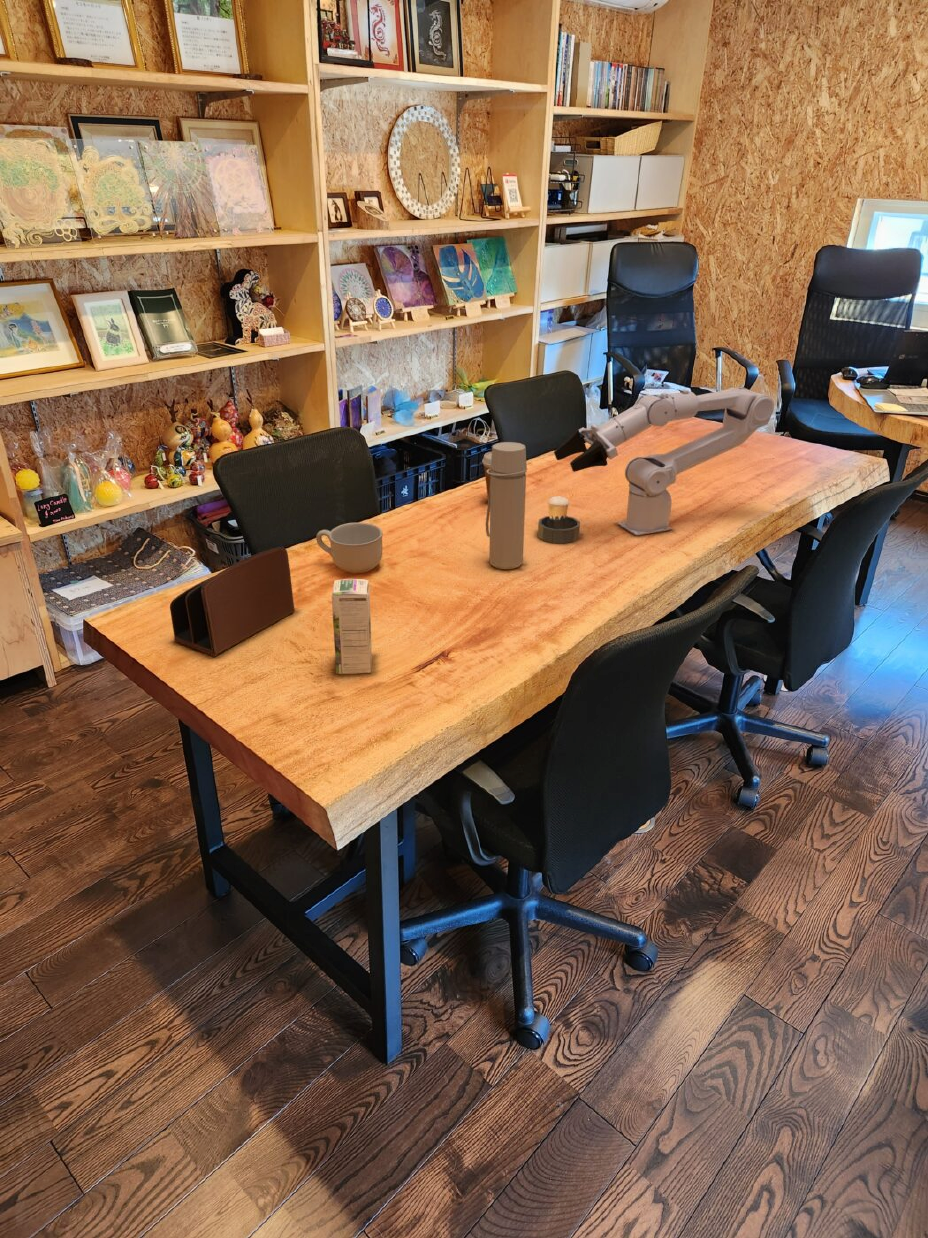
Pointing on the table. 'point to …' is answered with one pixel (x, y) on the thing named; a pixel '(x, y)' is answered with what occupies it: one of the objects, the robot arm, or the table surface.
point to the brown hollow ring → (559, 531)
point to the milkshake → (558, 512)
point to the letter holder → (234, 603)
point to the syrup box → (352, 626)
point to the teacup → (354, 546)
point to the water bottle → (507, 504)
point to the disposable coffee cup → (487, 464)
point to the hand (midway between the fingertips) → (563, 461)
